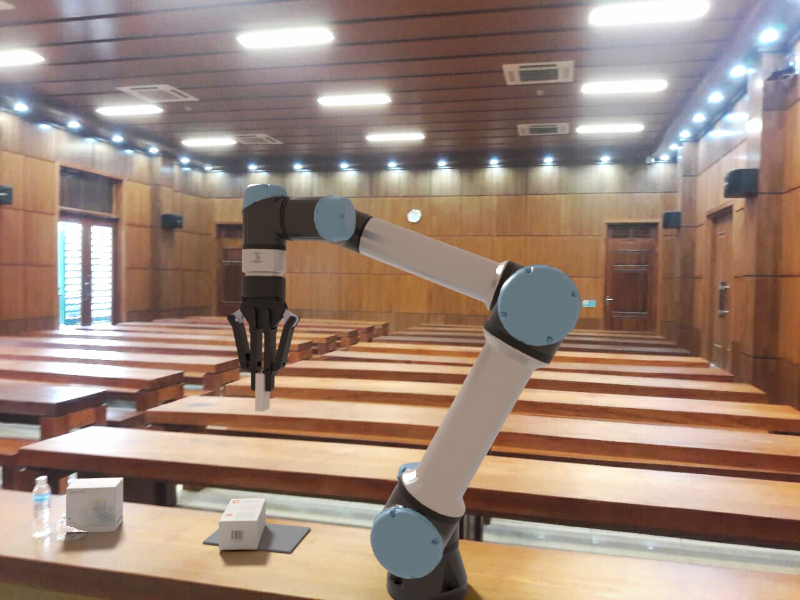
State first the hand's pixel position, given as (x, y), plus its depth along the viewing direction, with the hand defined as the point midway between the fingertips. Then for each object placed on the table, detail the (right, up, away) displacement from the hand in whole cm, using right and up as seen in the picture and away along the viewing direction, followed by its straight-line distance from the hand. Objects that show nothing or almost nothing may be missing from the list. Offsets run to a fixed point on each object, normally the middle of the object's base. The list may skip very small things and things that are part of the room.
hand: (262, 409), depth 102 cm
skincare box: (-46, -33, +31) cm, 64 cm away
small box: (-10, -30, +20) cm, 37 cm away
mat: (-7, -34, +28) cm, 44 cm away
